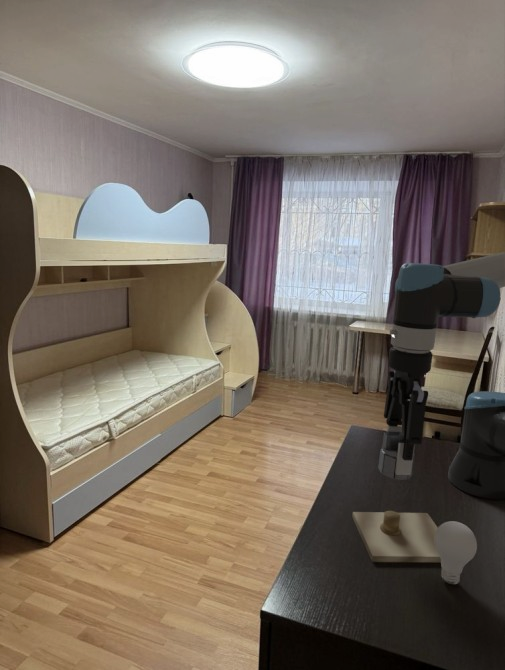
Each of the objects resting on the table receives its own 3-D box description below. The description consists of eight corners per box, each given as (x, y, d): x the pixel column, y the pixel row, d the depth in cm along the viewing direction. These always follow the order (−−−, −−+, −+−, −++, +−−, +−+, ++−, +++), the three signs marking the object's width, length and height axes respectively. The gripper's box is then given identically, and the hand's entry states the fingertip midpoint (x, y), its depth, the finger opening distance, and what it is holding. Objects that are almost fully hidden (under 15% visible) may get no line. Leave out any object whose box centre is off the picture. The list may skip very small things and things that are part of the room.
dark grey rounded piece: (404, 464, 94) (409, 428, 92) (416, 480, 88) (421, 441, 86) (375, 463, 93) (379, 426, 92) (384, 478, 88) (389, 439, 86)
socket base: (426, 518, 100) (429, 499, 99) (458, 562, 86) (461, 541, 85) (352, 517, 99) (354, 498, 98) (372, 561, 85) (374, 540, 84)
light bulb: (474, 599, 77) (484, 539, 75) (432, 592, 78) (440, 533, 76) (465, 572, 83) (474, 516, 81) (426, 566, 85) (433, 510, 82)
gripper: (375, 337, 95) (363, 443, 99) (410, 360, 76) (394, 490, 81) (411, 338, 95) (398, 445, 100) (455, 362, 77) (436, 491, 81)
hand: (396, 465), depth 90 cm, fingers closed on dark grey rounded piece, 6 cm apart
